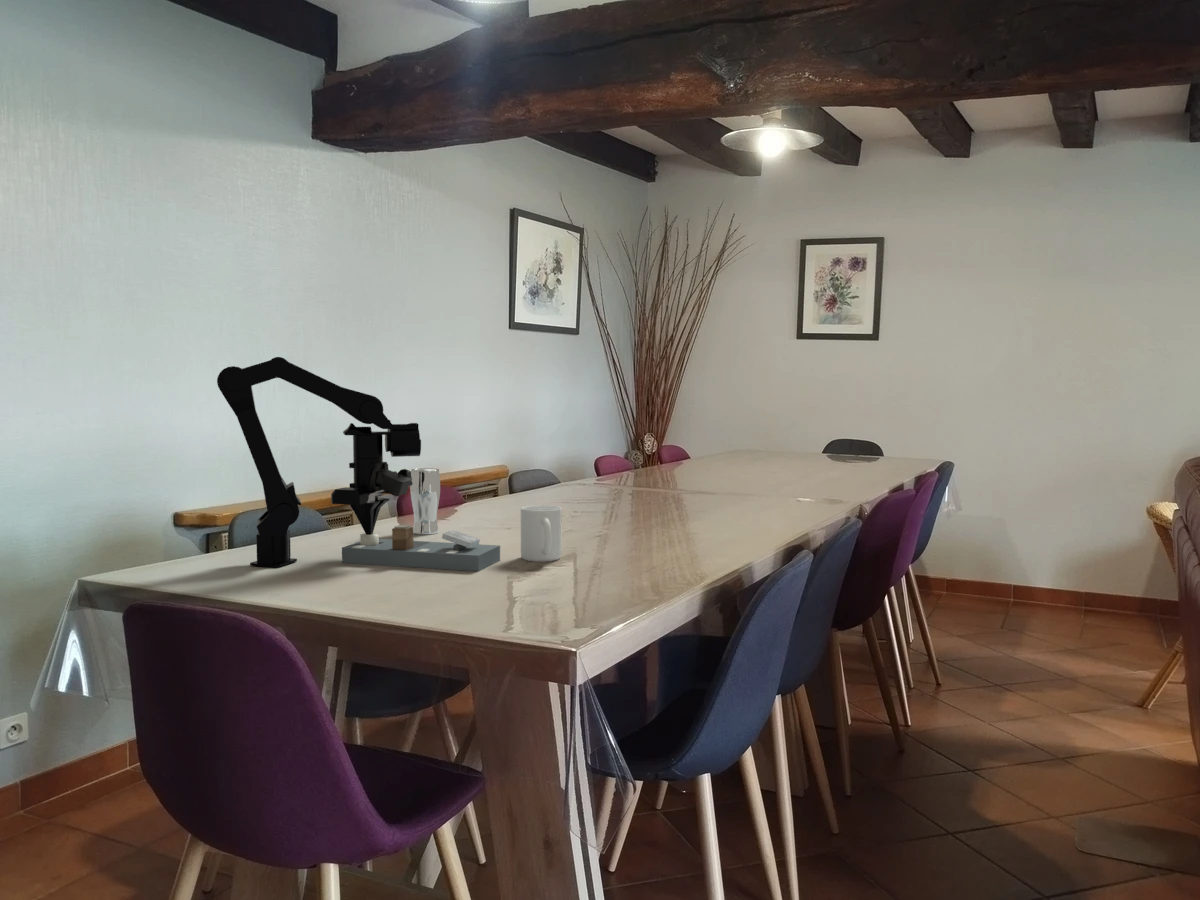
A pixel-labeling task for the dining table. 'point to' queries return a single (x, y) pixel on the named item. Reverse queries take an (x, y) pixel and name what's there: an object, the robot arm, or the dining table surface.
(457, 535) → the rocker paddle
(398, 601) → the dining table surface
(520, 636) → the dining table surface
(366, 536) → the white rounded cube
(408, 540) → the slider knob
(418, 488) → the beer glass
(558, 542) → the mug
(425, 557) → the console
